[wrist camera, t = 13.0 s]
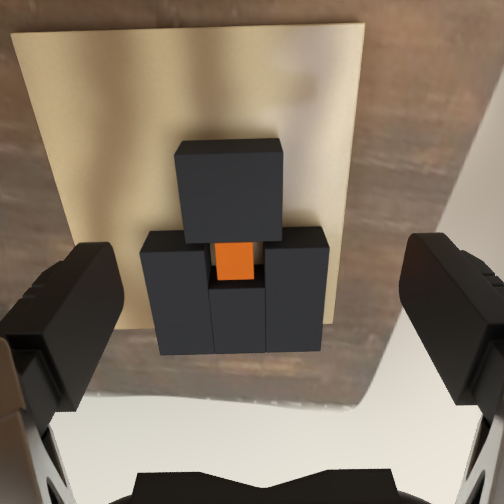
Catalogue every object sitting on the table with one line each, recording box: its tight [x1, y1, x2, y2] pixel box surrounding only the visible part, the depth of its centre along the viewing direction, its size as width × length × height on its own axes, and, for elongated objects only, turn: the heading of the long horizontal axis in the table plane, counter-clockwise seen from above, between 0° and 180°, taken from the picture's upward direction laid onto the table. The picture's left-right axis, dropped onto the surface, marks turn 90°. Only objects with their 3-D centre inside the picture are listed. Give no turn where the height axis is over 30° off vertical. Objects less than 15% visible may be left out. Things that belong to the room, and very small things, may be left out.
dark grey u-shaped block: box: [139, 226, 330, 355], centre depth 27 cm, size 12×9×3 cm
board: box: [10, 22, 366, 329], centre depth 26 cm, size 19×21×1 cm
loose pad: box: [174, 138, 284, 280], centre depth 24 cm, size 6×8×3 cm
